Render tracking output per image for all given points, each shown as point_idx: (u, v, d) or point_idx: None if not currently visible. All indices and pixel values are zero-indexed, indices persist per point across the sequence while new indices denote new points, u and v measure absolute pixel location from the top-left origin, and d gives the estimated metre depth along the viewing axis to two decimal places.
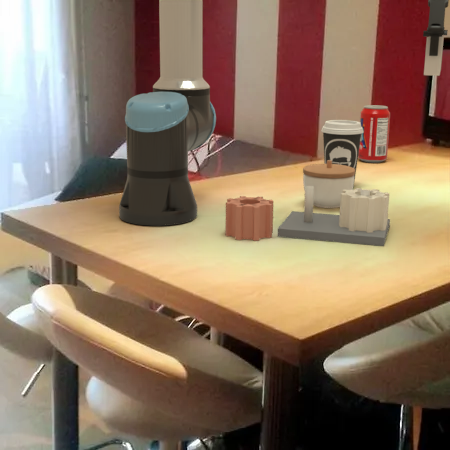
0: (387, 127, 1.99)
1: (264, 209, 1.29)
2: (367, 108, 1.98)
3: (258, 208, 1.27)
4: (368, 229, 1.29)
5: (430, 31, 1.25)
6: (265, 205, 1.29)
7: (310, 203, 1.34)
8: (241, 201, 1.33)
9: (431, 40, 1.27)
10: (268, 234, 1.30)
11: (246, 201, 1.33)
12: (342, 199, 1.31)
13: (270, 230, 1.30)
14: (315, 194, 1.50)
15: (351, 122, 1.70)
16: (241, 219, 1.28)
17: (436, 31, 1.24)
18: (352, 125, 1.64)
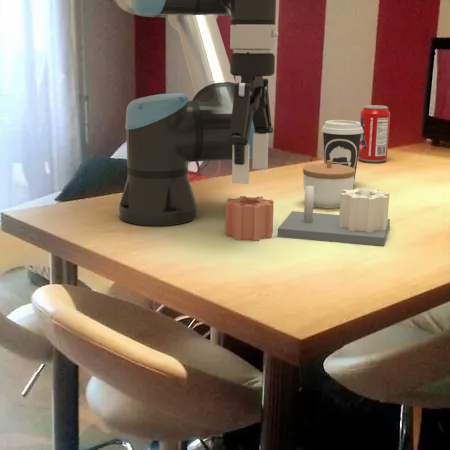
0: (387, 127, 1.99)
1: (264, 209, 1.29)
2: (367, 108, 1.98)
3: (258, 208, 1.27)
4: (368, 229, 1.29)
5: (231, 140, 1.19)
6: (265, 205, 1.29)
7: (310, 203, 1.34)
8: (241, 201, 1.33)
9: (235, 149, 1.21)
10: (268, 234, 1.30)
11: (246, 201, 1.33)
12: (342, 199, 1.31)
13: (270, 230, 1.30)
14: (315, 194, 1.50)
15: (351, 122, 1.70)
16: (241, 219, 1.28)
17: (237, 141, 1.18)
18: (352, 125, 1.64)
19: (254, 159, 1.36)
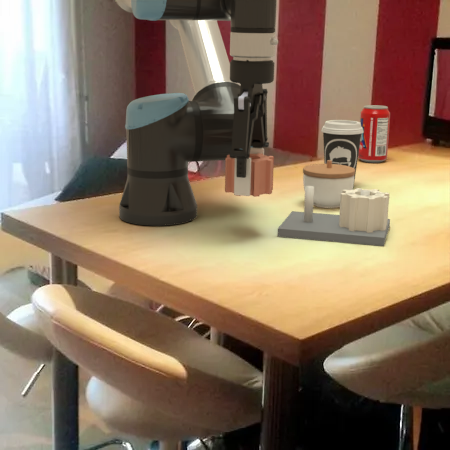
0: (387, 127, 1.99)
1: (264, 165, 1.28)
2: (367, 108, 1.98)
3: (258, 163, 1.26)
4: (368, 229, 1.29)
5: (234, 155, 1.22)
6: (265, 160, 1.28)
7: (310, 203, 1.34)
8: None
9: (237, 162, 1.24)
10: (268, 190, 1.29)
11: None
12: (342, 199, 1.31)
13: (270, 186, 1.29)
14: (315, 194, 1.50)
15: (351, 122, 1.70)
16: None
17: (239, 156, 1.22)
18: (352, 125, 1.64)
19: None
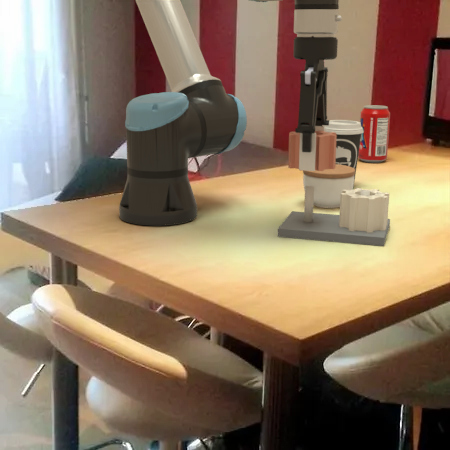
0: (387, 127, 1.99)
1: (328, 140, 1.29)
2: (367, 108, 1.98)
3: (323, 138, 1.28)
4: (368, 229, 1.29)
5: (301, 129, 1.24)
6: (329, 136, 1.29)
7: (310, 203, 1.34)
8: None
9: (303, 137, 1.26)
10: (332, 165, 1.31)
11: None
12: (342, 199, 1.31)
13: (334, 161, 1.31)
14: (315, 194, 1.50)
15: (351, 122, 1.70)
16: None
17: (306, 130, 1.24)
18: (352, 125, 1.64)
19: None
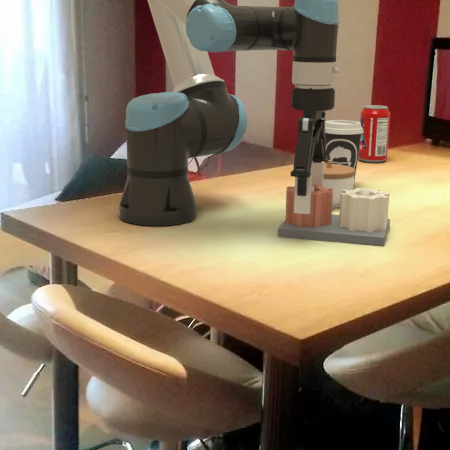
0: (387, 127, 1.99)
1: (324, 197, 1.32)
2: (367, 108, 1.98)
3: (319, 195, 1.31)
4: (368, 229, 1.29)
5: (296, 173, 1.24)
6: (325, 192, 1.32)
7: None
8: None
9: (298, 181, 1.26)
10: (328, 221, 1.34)
11: None
12: (342, 199, 1.31)
13: (330, 217, 1.34)
14: None
15: (351, 122, 1.70)
16: None
17: (301, 174, 1.24)
18: (352, 125, 1.64)
19: None
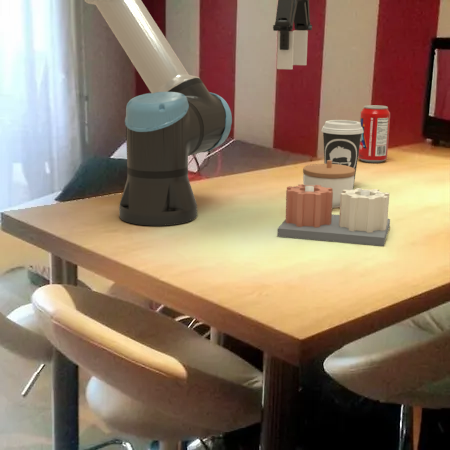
0: (387, 127, 1.99)
1: (324, 197, 1.32)
2: (367, 108, 1.98)
3: (319, 195, 1.31)
4: (368, 229, 1.29)
5: (278, 25, 1.27)
6: (325, 192, 1.32)
7: None
8: (301, 189, 1.36)
9: (281, 34, 1.28)
10: (328, 221, 1.34)
11: None
12: (342, 199, 1.31)
13: (330, 217, 1.34)
14: None
15: (351, 122, 1.70)
16: (302, 206, 1.31)
17: (283, 25, 1.26)
18: (352, 125, 1.64)
19: (294, 55, 1.43)
